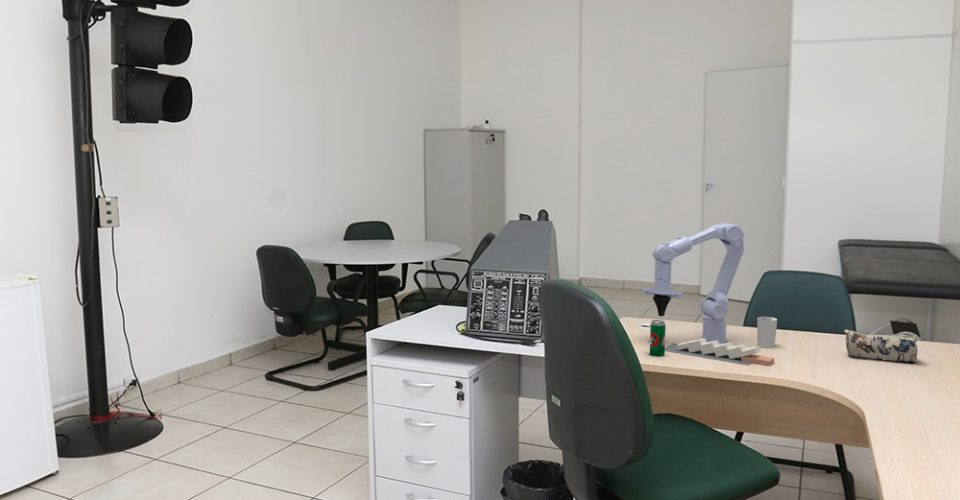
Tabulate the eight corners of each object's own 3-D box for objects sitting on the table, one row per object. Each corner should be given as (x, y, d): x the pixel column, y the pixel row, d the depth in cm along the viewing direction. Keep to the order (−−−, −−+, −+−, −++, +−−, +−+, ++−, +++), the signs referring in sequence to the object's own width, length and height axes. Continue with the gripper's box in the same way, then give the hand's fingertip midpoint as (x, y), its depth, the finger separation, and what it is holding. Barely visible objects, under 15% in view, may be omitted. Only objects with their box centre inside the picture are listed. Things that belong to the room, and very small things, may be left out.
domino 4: (714, 352, 246) (740, 346, 240) (720, 349, 250) (745, 343, 244) (716, 357, 246) (741, 351, 240) (721, 353, 250) (746, 348, 244)
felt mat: (673, 344, 264) (673, 343, 264) (760, 358, 245) (760, 357, 245) (659, 351, 255) (659, 350, 255) (748, 366, 236) (748, 365, 236)
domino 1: (675, 345, 254) (699, 340, 249) (681, 342, 258) (705, 338, 253) (677, 350, 254) (700, 345, 249) (682, 347, 258) (706, 342, 252)
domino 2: (688, 347, 252) (712, 342, 246) (693, 345, 255) (717, 340, 250) (689, 352, 251) (713, 347, 246) (695, 349, 255) (719, 344, 250)
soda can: (664, 358, 246) (666, 323, 244) (649, 357, 247) (650, 322, 245) (664, 354, 251) (665, 320, 249) (649, 353, 252) (650, 319, 250)
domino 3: (701, 350, 249) (725, 345, 243) (706, 347, 253) (731, 342, 247) (702, 354, 249) (727, 349, 243) (707, 351, 252) (732, 346, 247)
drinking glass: (755, 347, 260) (757, 319, 259) (756, 342, 267) (757, 316, 265) (775, 349, 258) (777, 321, 257) (775, 344, 264) (777, 317, 263)
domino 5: (728, 354, 243) (754, 348, 237) (733, 351, 247) (759, 345, 241) (729, 359, 243) (755, 353, 237) (734, 356, 247) (760, 350, 241)
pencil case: (915, 360, 245) (917, 331, 243) (917, 366, 237) (920, 337, 236) (842, 352, 254) (844, 325, 253) (843, 358, 246) (844, 330, 245)
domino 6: (741, 356, 240) (769, 361, 235) (746, 353, 244) (774, 358, 239) (741, 361, 240) (769, 366, 235) (746, 358, 244) (774, 362, 239)
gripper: (639, 278, 263) (638, 314, 265) (677, 282, 254) (675, 320, 256) (647, 275, 269) (646, 311, 270) (685, 279, 260) (683, 316, 262)
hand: (661, 315), depth 264 cm, fingers closed
